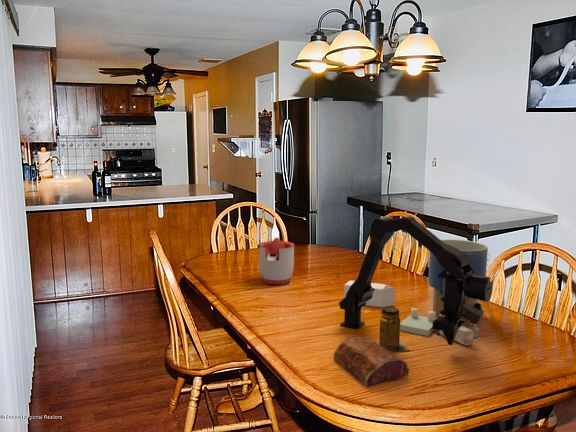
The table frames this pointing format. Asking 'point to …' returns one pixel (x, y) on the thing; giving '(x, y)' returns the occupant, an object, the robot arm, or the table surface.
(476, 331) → the stop block
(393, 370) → the cured meat
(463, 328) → the leg
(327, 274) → the table surface
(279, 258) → the citrus juicer
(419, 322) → the stool seat
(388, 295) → the milk carton
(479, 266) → the planter
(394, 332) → the condiment
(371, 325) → the table surface
